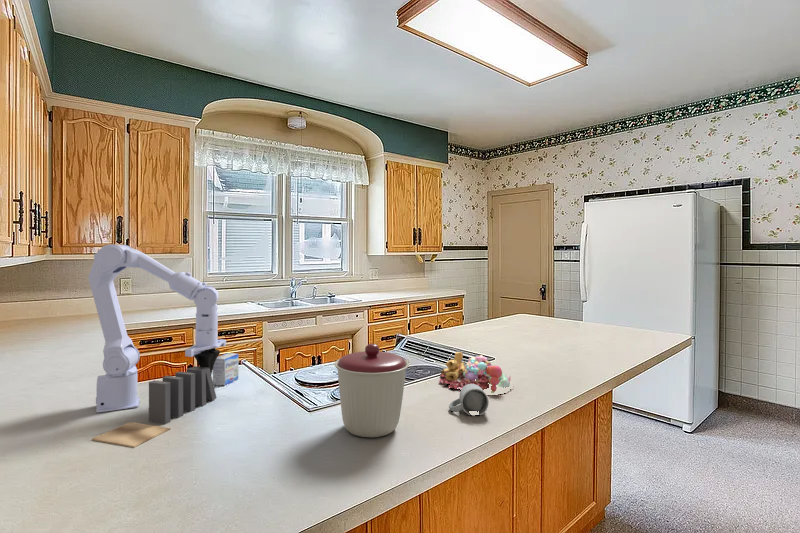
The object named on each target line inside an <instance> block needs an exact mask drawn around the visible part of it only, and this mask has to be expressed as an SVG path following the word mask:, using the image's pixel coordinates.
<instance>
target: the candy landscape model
mask: <svg viewBox="0 0 800 533" xmlns="http://www.w3.org/2000/svg"><path fill="white" fill-rule="evenodd" d="M463 357H464V354H463V352H462V351H457V352H456V351H455V352H454V358H452V359H451V358H450V360H448V361H447V362H446V363H445V366H446V368H443V369H442V371H441V372H440V375H439V377H438V378H439V379H438V383H440V382H441V383H440V384H441V385H442V386H446V385H447V384H450V385H448V387H450V388H454V389H453V390H455V389H457V388H458V389H462V388H463V387H464V386H465V385H467V384H476V385H478V386H479V387H481V389H482V390H484V389H487V388H489V384H491V385H492V386H491V390H492V391H491V393H494V392H495V391H496V390H497V387H496V385H498V386H499V387H503V388H504V387H505V388H506V387H509V386H510V382H511V376H507V375H506V374H505V373H504V372H503V369H501V367H500V366H499V365H492V363H491V362H490V361H488V358H487V357H486V356H483V355H482V354H480V355H479V356H475V357H474V356H472V357H470V356H469V357H468V359H467V360H468V361H467V362H465V361H464V362H462V360H463ZM475 379H476V381H475ZM488 383H489V384H488ZM448 387H447V388H448ZM450 388H449V389H450Z"/></svg>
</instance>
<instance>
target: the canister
mask: <svg viewBox="0 0 800 533" xmlns="http://www.w3.org/2000/svg"><path fill="white" fill-rule="evenodd" d="M409 366H410V363H409V361H408V360H407V359H405V358H403V357H402V356H400V355H398V354H395V353H392V352H387V351H380V346H379V345H377V343H368V344H366V346H365V348H364V351H357V352H350V353H348V354H344V355H343V356H342V357H340V358H339V359H337V360H336V361H335V362H334V368H336V369H337V379H338V380H337V381H338V391H339V400H340V409H341V416H342V418H341V419H342V422H343V425H344V427H345V429H346V430H347V431H348V432H349V433H351V434H352V435H354V436H357V437H361V438H379V437H384V436H386V435H387V436H388V435H389V434H391V433H392V432H394V431H395V430H396V428H397V426H398V424H399V421H400V417H401V411H402V405H403V404H402V403H403V398H404V397H403V396H404V388H405V382H406V381H405V380H406V372H407V369H408V368H409Z"/></svg>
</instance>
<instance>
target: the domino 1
mask: <svg viewBox="0 0 800 533" xmlns="http://www.w3.org/2000/svg"><path fill="white" fill-rule="evenodd" d="M148 422H149V423H154V424H155V423H156V424H160V425H161V424H162V425H167V424H168V423H171V417H170V382H163V380H162V381H161V380H150V381H149V382H148Z"/></svg>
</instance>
